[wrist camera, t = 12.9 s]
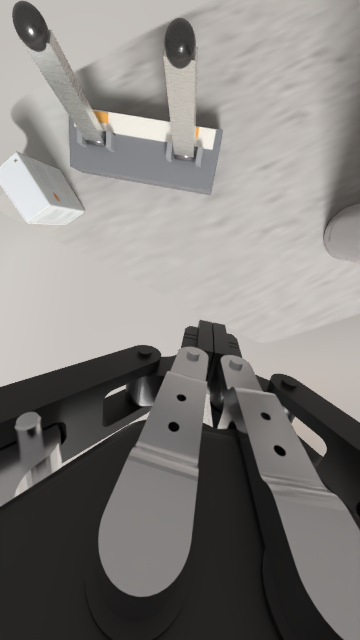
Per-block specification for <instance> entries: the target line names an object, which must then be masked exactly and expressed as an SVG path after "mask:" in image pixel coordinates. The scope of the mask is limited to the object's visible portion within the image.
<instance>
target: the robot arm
mask: <svg viewBox="0 0 360 640" xmlns="http://www.w3.org/2000/svg"><path fill="white" fill-rule="evenodd" d="M324 245H325V248H326V250H327V251H328V253H329V254H330V255H332V256H333V257H335V258H337V259H341V260H346V261H351V262H356V263H360V204H355V205H351V206H348V207H346V208H344V209H342V210H341V211H339V212H338V213H337V214H336V215H335V216H334V217H333V218H332V219H331V221H330V222H329V224H328V226H327V227H326V230H325V234H324ZM124 385H126V389H124V390H122V391H120V392H118V393H116V394H113V395H111V396H109V397H107V398H105V396H106V395H107V394H108V393H109V392H111V391H112V390H114V389H117V388H119V387H121V386H124ZM206 394H210V399H209V402H208V418H209V425H207V424H205V423H203V415H204V406H205V398H206ZM149 411H150V413H149V416H148V418H147V420H142V421H138V422H135V423H132V424H130V425H128V424H129V423H131V422H133V421H135V420H136V419H138V418H140V417H141V416H143V415H145V414H146V413H148V412H149ZM295 416H296V417H297V418H298V419H299V420H300V421H302V422H303V423H304V424H305V425H307V426H308V427H309V428H310V429H311V430H313V431H314V432H315V433H316V434H317V435H319V436H320V437H321V438H322V439H323V440H324V442H325V444H326V446H327V452H326V454H325V455H324V457H323V456H321V455H319V454H318V453H317V452H316V451H315V450H314V449H313V448H311V447H310V446H309V445H308V444H307V443H306V442H305V441H304V440H302V439H301V438H300V437H299V436H298V435H297V434H296V432H295V430H294V428H293V426H292V425H291V423H292V421H293V419H294V418H295ZM126 425H128V426H126ZM124 426H126V427H124ZM123 427H124V428H123ZM121 428H123V429H121ZM119 429H121V430H120V431H118V432H116V431H117V430H119ZM114 432H116V433H115V434H113V435H112V436H110V437H109V438H107V439H105V440H104V441H102V442H101V443H99V444H98V445H96V446H94V447H93V448H92V449H90V450H88V451H87V452H85V453H83V454H82V455H80V456H79V457H77V458H76V459H74V460H72V461H71V462H69V463H68V464H66V465H65V466H63V467H61V464H62V463H63V462H65V461H67V460H68V459H70V458H72V457H74V456H75V455H77V454H79V453H80V452H82V451H83V450H85V449H87V448H89V447H90V446H92V445H94V444H95V443H97V442H99V441H101V440H102V439H104V438H106V437H107V436H109V435H111V434H112V433H114ZM60 467H61V468H60ZM0 640H360V423H359V422H358V421H356V420H355V419H353V418H352V417H351V416H349V415H348V414H346V413H344V412H343V411H342V410H340V409H339V408H337V407H336V406H334V405H333V404H331V403H330V402H328V401H327V400H325V399H324V398H323V397H321V396H320V395H318V394H317V393H315V392H314V391H312V390H311V389H309V388H308V387H306V386H305V385H303V384H302V383H300V382H299V381H297V380H296V379H294V378H292V377H290V376H287V375H284V374H274V375H272V376H271V379H270V381H269V380H267V379H264V378H262V377H259V376H257V375H255V373H254V371H253V369H252V367H251V365H250V364H249V363H248V362H247V361H246V360H244V359H243V358H242V355H241V352H240V349H239V345H238V341H237V339H236V338H235V337H234V336H233V335H232V334H227V333H226V328H225V325H223V324H218V323H212V322H208V321H203V320H200V321H199V325H198V328H197V327H193V326H189V327H187V328H186V329H185V333H184V337H183V341H182V346H181V349H179V351H178V353H177V355H175V356H171V357H161V353H160V351H159V350H158V349H156V348H154V347H152V346H147V345H138V346H134V347H131V348H128V349H124V350H121V351H118V352H115V353H112V354H108V355H105V356H101V357H98V358H95V359H91V360H88V361H85V362H82V363H78V364H75V365H72V366H68V367H65V368H62V369H59V370H55V371H52V372H49V373H45V374H42V375H39V376H35V377H32V378H29V379H25V380H22V381H19V382H15V383H12V384H9V385H6V386H3V387H0Z"/></svg>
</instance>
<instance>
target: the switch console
mask: <svg viewBox="0 0 360 640" xmlns="http://www.w3.org/2000/svg"><path fill="white" fill-rule="evenodd" d="M92 110H93V112H94V114H95V116H96V118H97V120H98V122H99V124H100V125H101V127H102V129H103V131H104V133H105V134H106V147H100V146H94V145H88V144H87V143H86V141H85V139H84V137H83V136H82V134H81V133H80V131H79V129H78V128H77V126H76V125H75V123H74V122H73V120H72V119H71V117H70V116H69V136H70V166H71V167H73V168H75V169H77V170H79V171H81V172H83V173H88V174H94V175H99V176H105V177H111V178H116V179H122V180H128V181H133V182H139V183H145V184H150V185H156V186H162V187H167V188H173V189H179V190H184V191H190V192H196V193H201V194H207V195H211V191H212V185H213V180H214V175H215V170H216V165H217V160H218V155H219V150H220V145H221V139H222V133H223V130H221V129H215V128H209V127H203V126H196V136H195V158H194V162H188V161H182V160H176V159H174V149H173V140H172V131H171V122H170V121H166V120H160V119H153V118H147V117H141V116H135V115H129V114H123V113H117V112H110V111H104V110H98V109H92Z"/></svg>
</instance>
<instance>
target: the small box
mask: <svg viewBox="0 0 360 640" xmlns="http://www.w3.org/2000/svg"><path fill="white" fill-rule="evenodd" d="M0 186H1V187H2V189H3V190H4V192H5V193H6V194H7V196H8V197H9V199H10V200H11V202H12V203H13V204H14V206H15V207H16V209H17V210H18V212H19V213H20V215H21V216H22V217H23V219H24V220H25V222H26V223H32V224H52V225H66V224H68V223H69V222H71V221H72V220H73V219H75V218H76V217H78V216H79V215H81V214H82V213H83V212H85V210H84V208H83V207H82V205H81V203H80V202H79V200H78V198H77V197H76V195H75V193H74V192H73V190H72V188H71V187H70V185H69V184H68V182H67V180H66V179H65V177H64V175H63V174H62V172H61V170H59V169H56V168H54V167H52V166H49V165H47V164H45V163H42V162H40V161H38V160H35V159H33V158H31V157H28V156H26V155H24V154H21V153H19V152H15V153H14V154H13V155H12V156H11V157H9V158H8V159H7V160H6V161H5V162H4V163H3V164H2V165H1V166H0Z"/></svg>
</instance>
